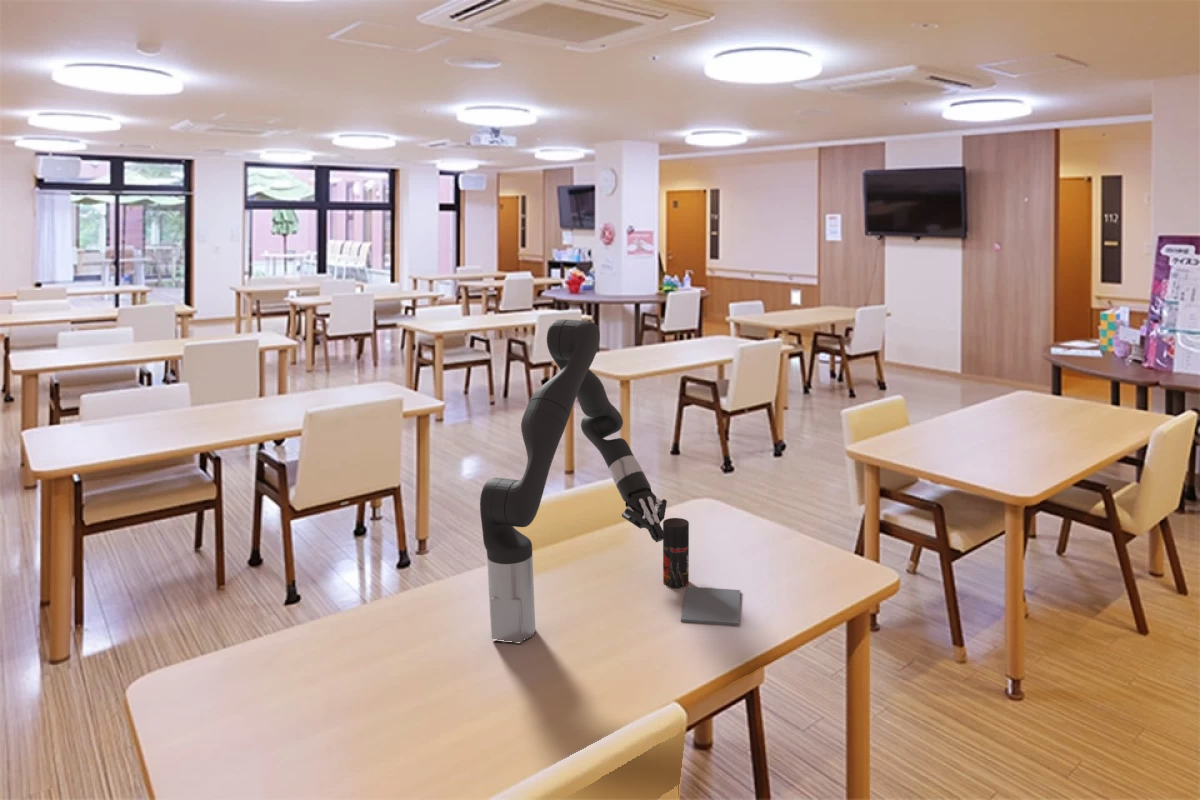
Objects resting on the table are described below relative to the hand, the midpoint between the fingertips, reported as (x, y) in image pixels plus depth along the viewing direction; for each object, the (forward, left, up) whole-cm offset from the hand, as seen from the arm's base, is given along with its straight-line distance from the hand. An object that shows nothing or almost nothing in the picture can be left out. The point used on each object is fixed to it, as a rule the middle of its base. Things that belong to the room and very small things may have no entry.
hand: (660, 540), depth 199 cm
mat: (-15, -13, -9) cm, 22 cm away
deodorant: (-4, -4, -9) cm, 11 cm away
